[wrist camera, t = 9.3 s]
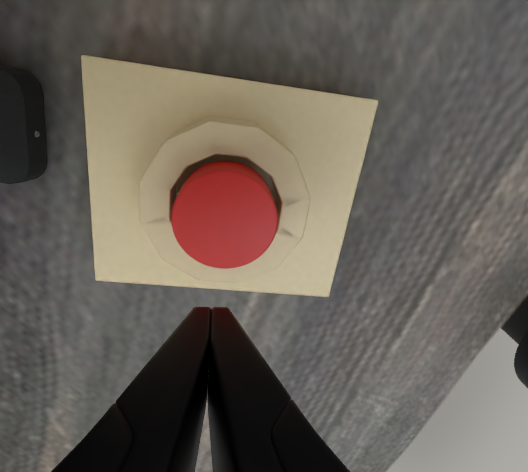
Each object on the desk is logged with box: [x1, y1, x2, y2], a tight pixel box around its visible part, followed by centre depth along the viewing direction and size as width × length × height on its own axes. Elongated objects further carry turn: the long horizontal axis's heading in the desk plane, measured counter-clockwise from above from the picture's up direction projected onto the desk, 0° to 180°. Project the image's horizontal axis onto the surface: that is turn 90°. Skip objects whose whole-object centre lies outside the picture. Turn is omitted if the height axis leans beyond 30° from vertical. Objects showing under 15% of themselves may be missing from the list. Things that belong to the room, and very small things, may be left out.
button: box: [171, 161, 278, 269], centre depth 14 cm, size 4×4×2 cm
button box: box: [81, 55, 378, 297], centre depth 16 cm, size 12×10×4 cm
